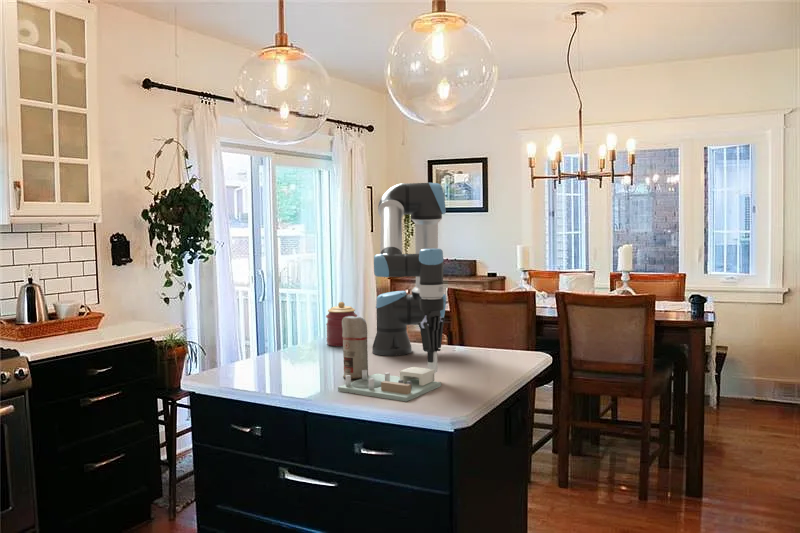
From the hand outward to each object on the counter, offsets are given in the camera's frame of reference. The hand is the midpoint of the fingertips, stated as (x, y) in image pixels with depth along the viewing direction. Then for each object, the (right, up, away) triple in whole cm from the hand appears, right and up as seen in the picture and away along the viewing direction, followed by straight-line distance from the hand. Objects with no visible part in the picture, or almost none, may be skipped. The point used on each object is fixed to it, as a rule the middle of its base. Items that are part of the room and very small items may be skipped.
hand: (432, 371), depth 208 cm
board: (-13, -4, -10) cm, 17 cm away
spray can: (-25, -3, +6) cm, 26 cm away
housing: (-5, -2, -8) cm, 9 cm away
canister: (-34, +1, +65) cm, 74 cm away
